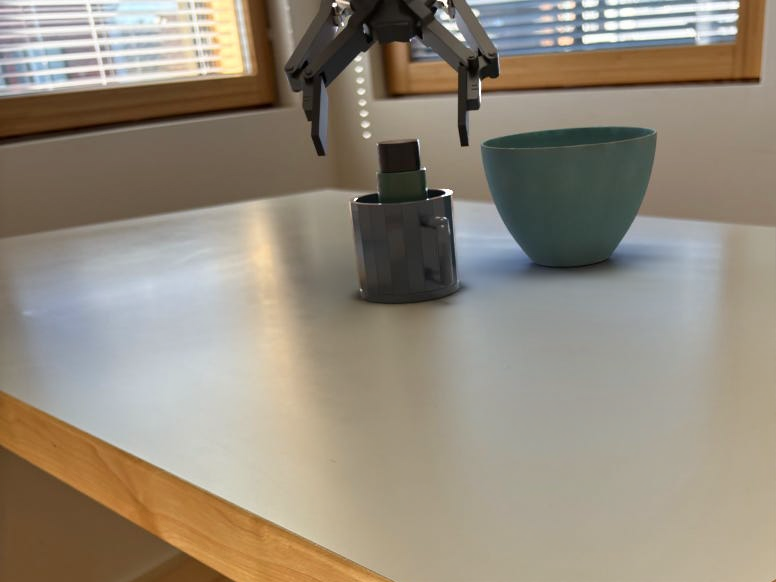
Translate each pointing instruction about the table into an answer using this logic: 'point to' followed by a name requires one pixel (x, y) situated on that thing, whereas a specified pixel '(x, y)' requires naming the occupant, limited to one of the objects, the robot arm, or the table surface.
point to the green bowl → (569, 189)
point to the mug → (405, 247)
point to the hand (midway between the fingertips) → (390, 141)
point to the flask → (400, 172)
